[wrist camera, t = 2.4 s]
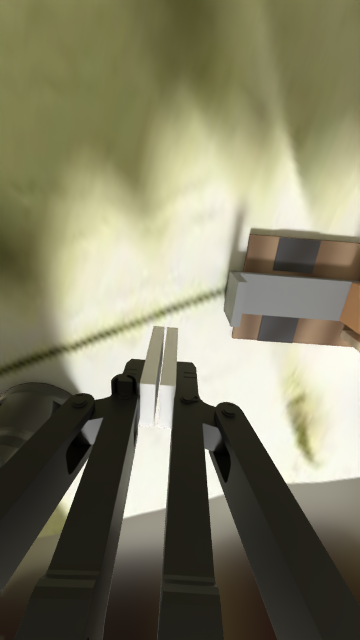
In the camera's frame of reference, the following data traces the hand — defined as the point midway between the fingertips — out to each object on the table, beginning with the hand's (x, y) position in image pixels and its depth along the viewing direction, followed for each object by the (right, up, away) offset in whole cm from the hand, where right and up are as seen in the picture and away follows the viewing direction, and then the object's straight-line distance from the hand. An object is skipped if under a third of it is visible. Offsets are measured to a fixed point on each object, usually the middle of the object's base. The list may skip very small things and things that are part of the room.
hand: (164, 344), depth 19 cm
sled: (+18, +5, +14) cm, 23 cm away
